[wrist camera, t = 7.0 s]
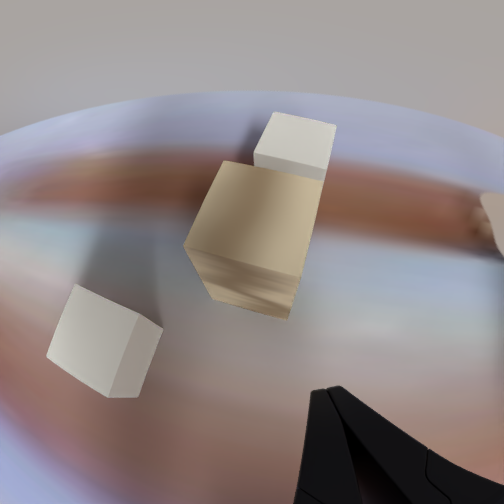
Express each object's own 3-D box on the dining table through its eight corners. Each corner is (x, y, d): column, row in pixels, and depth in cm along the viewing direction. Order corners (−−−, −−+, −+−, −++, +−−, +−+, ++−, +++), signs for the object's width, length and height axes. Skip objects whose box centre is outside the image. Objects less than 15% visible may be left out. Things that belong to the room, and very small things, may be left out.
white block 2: (328, 161, 28) (336, 125, 24) (317, 206, 26) (326, 169, 22) (271, 147, 30) (271, 111, 25) (253, 189, 27) (250, 152, 23)
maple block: (305, 251, 24) (323, 181, 16) (286, 320, 22) (300, 277, 13) (236, 234, 25) (223, 160, 17) (212, 298, 23) (183, 245, 14)
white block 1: (164, 329, 22) (139, 313, 17) (138, 397, 19) (107, 397, 15) (104, 303, 23) (73, 282, 18) (80, 364, 20) (44, 355, 16)
